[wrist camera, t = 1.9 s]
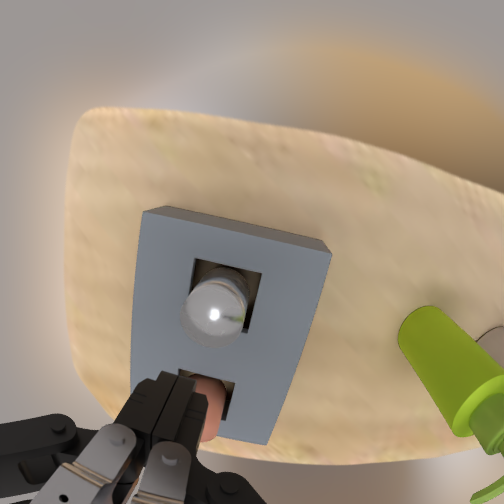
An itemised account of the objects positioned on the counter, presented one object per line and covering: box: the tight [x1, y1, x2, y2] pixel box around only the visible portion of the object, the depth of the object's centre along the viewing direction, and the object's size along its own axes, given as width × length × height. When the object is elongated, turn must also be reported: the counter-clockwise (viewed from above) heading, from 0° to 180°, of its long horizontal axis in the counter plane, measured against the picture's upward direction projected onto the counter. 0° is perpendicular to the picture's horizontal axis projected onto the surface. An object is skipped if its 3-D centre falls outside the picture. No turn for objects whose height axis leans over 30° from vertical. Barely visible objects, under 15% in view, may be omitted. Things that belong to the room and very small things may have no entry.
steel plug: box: [180, 267, 250, 348], centre depth 21 cm, size 4×4×5 cm
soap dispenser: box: [398, 306, 504, 504], centre depth 18 cm, size 6×7×20 cm
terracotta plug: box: [188, 373, 227, 442], centre depth 23 cm, size 4×4×5 cm
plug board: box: [130, 206, 332, 445], centre depth 26 cm, size 14×20×5 cm
